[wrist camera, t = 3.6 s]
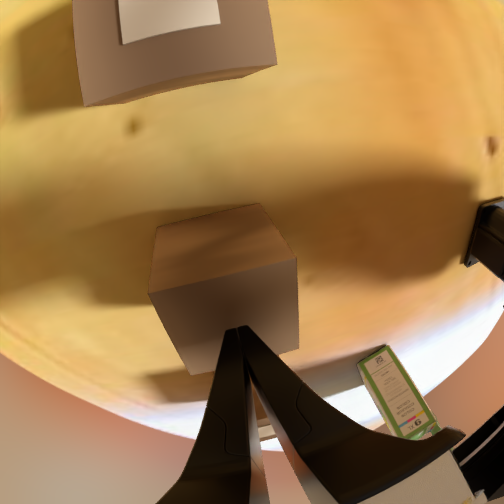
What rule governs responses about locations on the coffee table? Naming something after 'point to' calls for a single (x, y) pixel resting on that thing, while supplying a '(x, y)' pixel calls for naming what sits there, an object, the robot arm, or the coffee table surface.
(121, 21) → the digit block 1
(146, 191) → the coffee table surface
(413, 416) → the ink box
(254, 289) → the plain block
